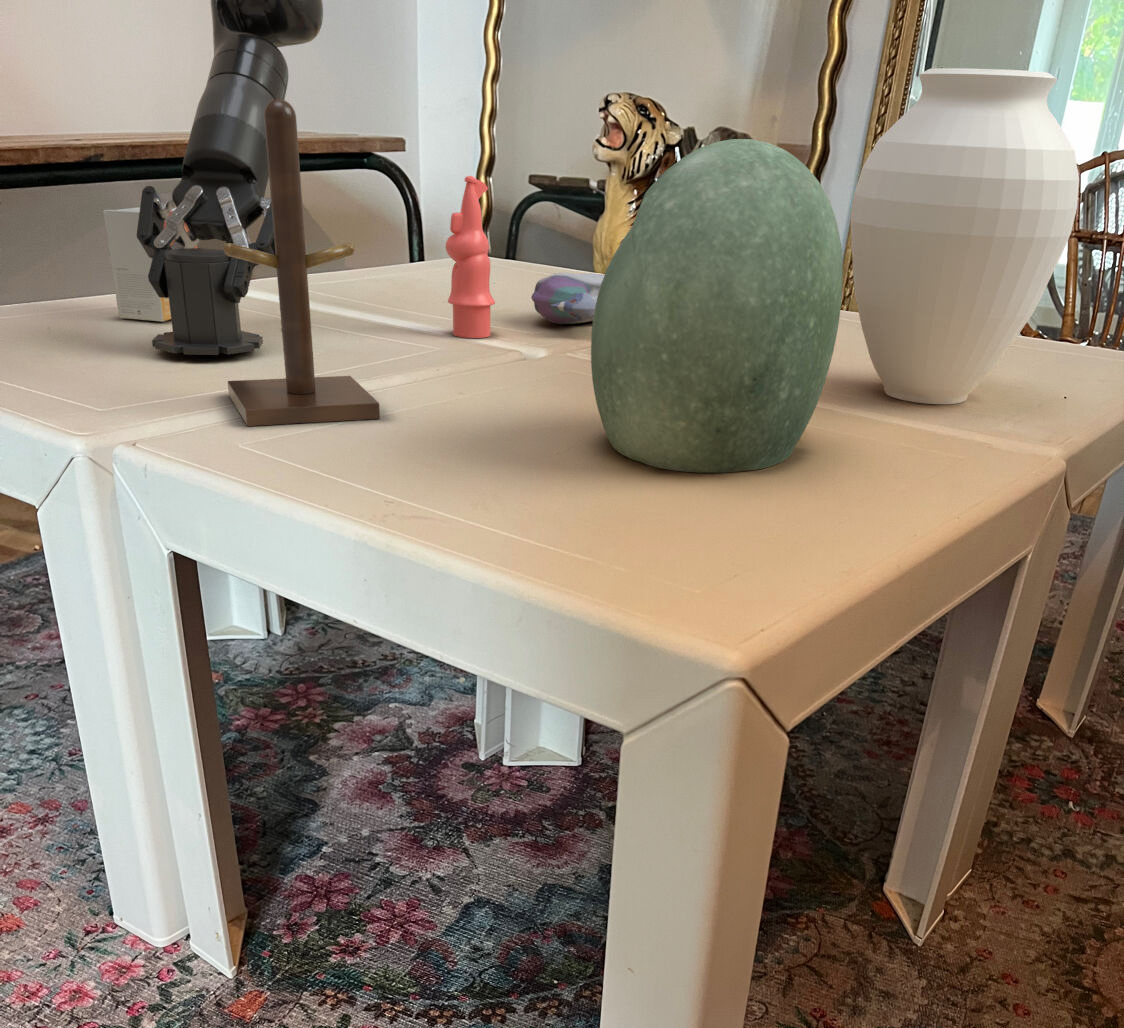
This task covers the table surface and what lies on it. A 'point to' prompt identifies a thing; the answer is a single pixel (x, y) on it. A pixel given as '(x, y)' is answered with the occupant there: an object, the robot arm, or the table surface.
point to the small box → (133, 268)
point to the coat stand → (294, 301)
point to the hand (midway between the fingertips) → (195, 294)
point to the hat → (202, 306)
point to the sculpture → (719, 312)
